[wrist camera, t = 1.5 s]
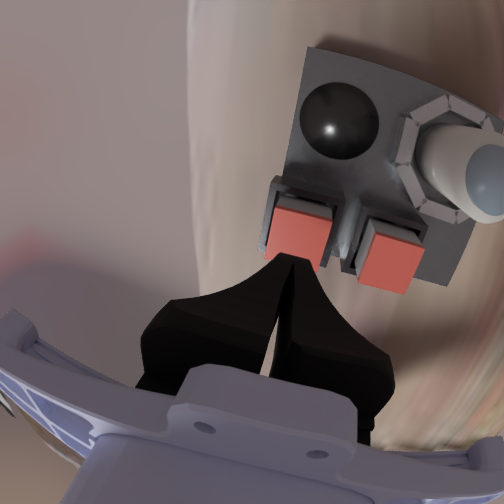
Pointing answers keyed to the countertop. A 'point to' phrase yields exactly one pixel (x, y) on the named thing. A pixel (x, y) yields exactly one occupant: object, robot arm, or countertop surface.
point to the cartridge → (465, 168)
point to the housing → (373, 158)
